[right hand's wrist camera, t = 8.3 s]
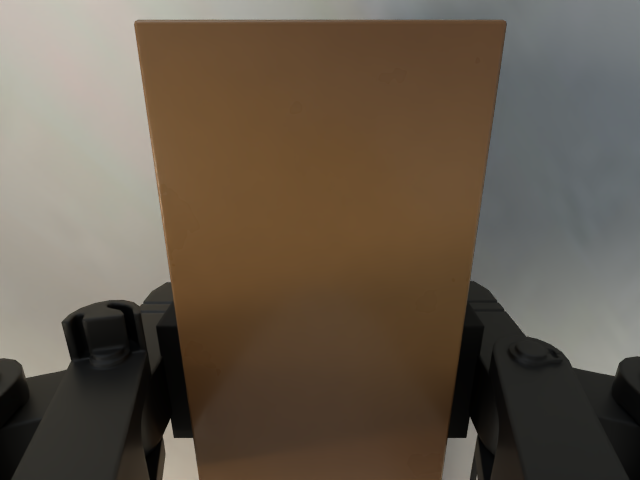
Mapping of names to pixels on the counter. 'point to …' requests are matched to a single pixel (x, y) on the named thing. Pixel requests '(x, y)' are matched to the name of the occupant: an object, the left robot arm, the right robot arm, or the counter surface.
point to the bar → (320, 233)
